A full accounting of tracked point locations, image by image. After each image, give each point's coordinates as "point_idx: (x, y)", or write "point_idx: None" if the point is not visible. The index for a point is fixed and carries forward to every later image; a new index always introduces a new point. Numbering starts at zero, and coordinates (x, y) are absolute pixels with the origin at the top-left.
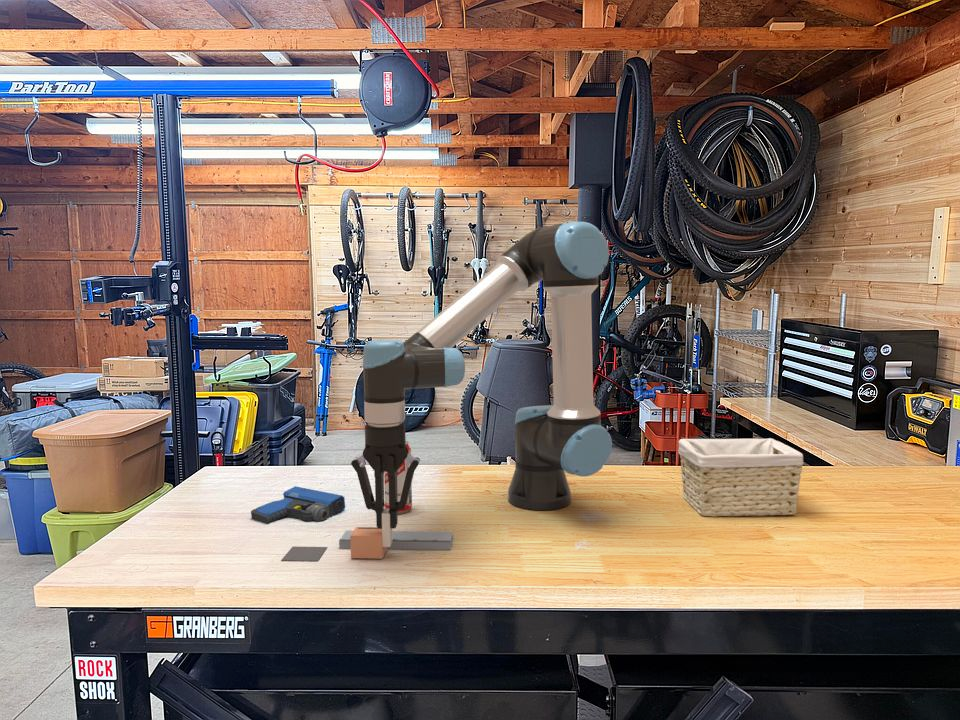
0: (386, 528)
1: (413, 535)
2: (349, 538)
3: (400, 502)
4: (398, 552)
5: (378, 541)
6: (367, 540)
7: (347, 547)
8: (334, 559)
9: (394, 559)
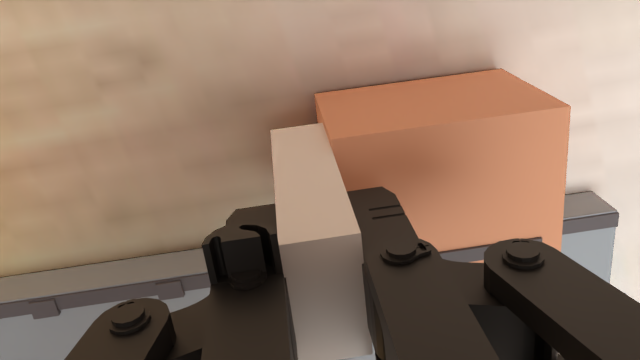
0: (301, 175)
1: None
2: (564, 250)
3: (137, 354)
4: (254, 204)
5: (351, 122)
6: (432, 114)
7: None
8: (591, 55)
9: (245, 113)
